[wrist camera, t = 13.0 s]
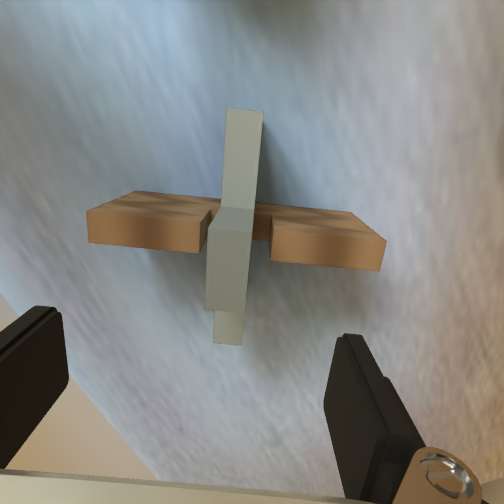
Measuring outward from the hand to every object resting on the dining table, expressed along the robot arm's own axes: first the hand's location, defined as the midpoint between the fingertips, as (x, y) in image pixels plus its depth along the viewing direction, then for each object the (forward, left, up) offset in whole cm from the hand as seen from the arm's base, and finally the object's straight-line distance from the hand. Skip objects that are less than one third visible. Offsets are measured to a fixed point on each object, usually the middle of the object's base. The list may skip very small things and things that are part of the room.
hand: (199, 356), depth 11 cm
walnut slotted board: (0, 0, -24) cm, 24 cm away
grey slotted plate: (0, 0, -24) cm, 24 cm away
